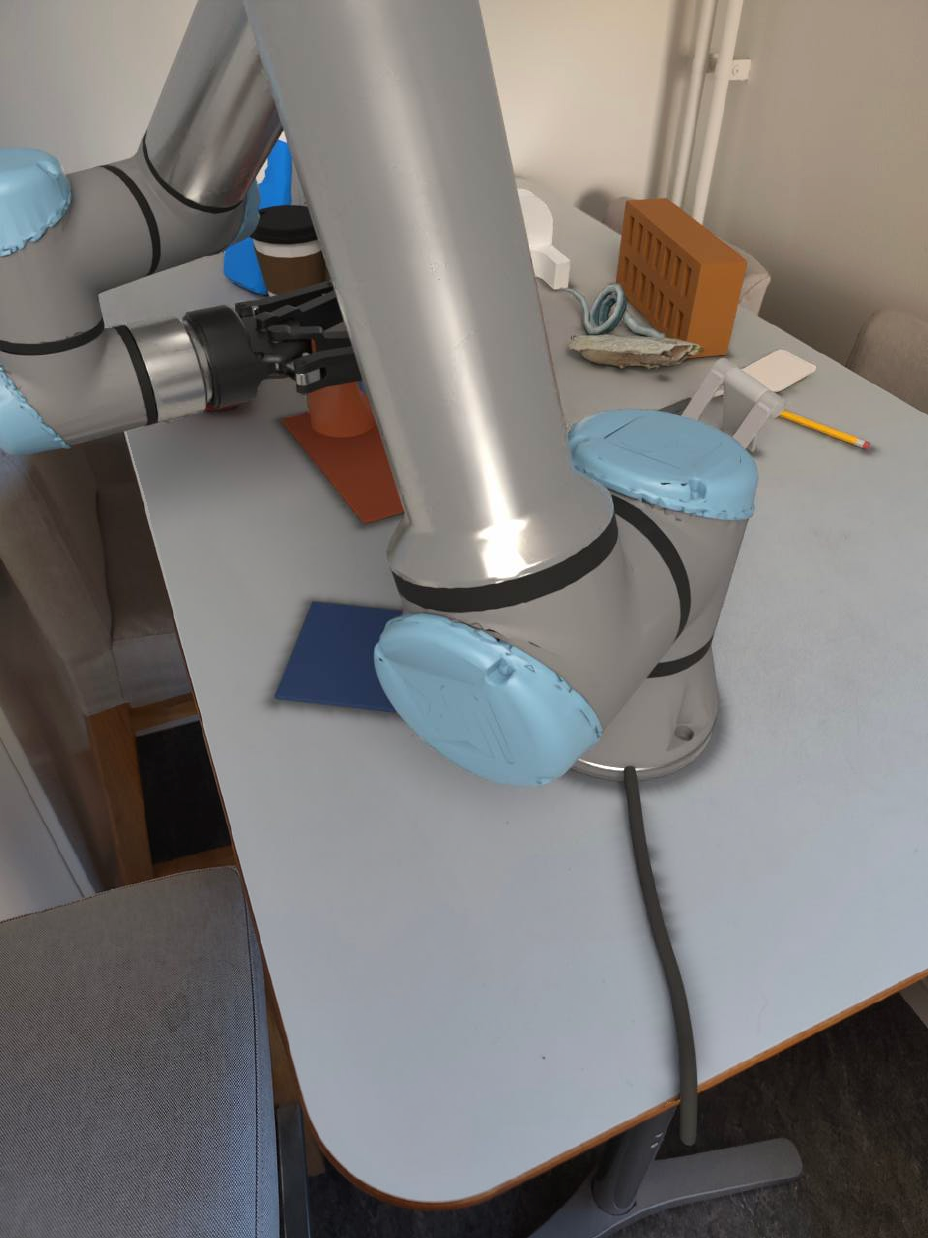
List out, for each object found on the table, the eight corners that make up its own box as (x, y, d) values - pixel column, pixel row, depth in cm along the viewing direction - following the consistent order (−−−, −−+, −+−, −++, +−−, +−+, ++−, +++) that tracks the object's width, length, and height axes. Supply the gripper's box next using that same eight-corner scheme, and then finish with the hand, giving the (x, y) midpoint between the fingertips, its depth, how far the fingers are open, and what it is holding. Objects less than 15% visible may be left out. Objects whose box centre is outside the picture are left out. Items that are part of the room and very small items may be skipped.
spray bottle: (257, 295, 120) (303, 102, 111) (215, 274, 126) (255, 89, 117) (275, 299, 122) (321, 110, 113) (232, 279, 128) (273, 98, 119)
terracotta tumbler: (370, 440, 93) (364, 342, 86) (301, 434, 94) (289, 336, 87) (384, 406, 99) (379, 311, 92) (319, 400, 100) (309, 306, 92)
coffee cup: (243, 319, 116) (229, 225, 108) (275, 289, 124) (264, 199, 116) (320, 329, 115) (311, 235, 106) (348, 297, 122) (341, 207, 114)
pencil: (869, 441, 94) (871, 443, 95) (759, 400, 101) (761, 401, 102) (866, 448, 95) (867, 449, 95) (756, 406, 101) (758, 408, 102)
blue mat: (417, 715, 65) (417, 711, 65) (275, 699, 66) (274, 695, 66) (439, 618, 73) (439, 614, 73) (312, 604, 74) (312, 601, 74)
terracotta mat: (472, 491, 87) (472, 488, 87) (364, 524, 83) (363, 521, 83) (379, 398, 101) (378, 394, 101) (281, 421, 97) (281, 418, 97)
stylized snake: (651, 300, 106) (684, 325, 110) (576, 259, 121) (607, 282, 125) (617, 352, 109) (650, 375, 113) (547, 306, 124) (579, 327, 127)
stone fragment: (729, 335, 109) (729, 299, 105) (729, 377, 104) (729, 341, 100) (577, 348, 114) (573, 314, 110) (570, 388, 109) (565, 354, 105)
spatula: (815, 378, 107) (819, 367, 106) (638, 446, 95) (640, 434, 94) (777, 358, 111) (780, 348, 110) (601, 421, 98) (603, 409, 97)
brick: (626, 199, 120) (666, 196, 122) (614, 285, 129) (652, 282, 130) (701, 264, 102) (748, 260, 104) (683, 359, 111) (726, 355, 112)
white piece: (465, 252, 137) (467, 176, 130) (522, 246, 140) (527, 171, 133) (507, 294, 125) (511, 214, 118) (568, 287, 128) (577, 207, 120)
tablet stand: (660, 437, 94) (682, 368, 88) (711, 420, 98) (736, 353, 92) (715, 481, 90) (742, 412, 84) (767, 463, 93) (797, 395, 87)
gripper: (164, 357, 77) (392, 307, 86) (250, 465, 64) (507, 393, 73) (145, 271, 72) (389, 227, 81) (234, 370, 59) (512, 305, 68)
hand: (445, 306), depth 77 cm, fingers closed on blue tumbler, 8 cm apart
